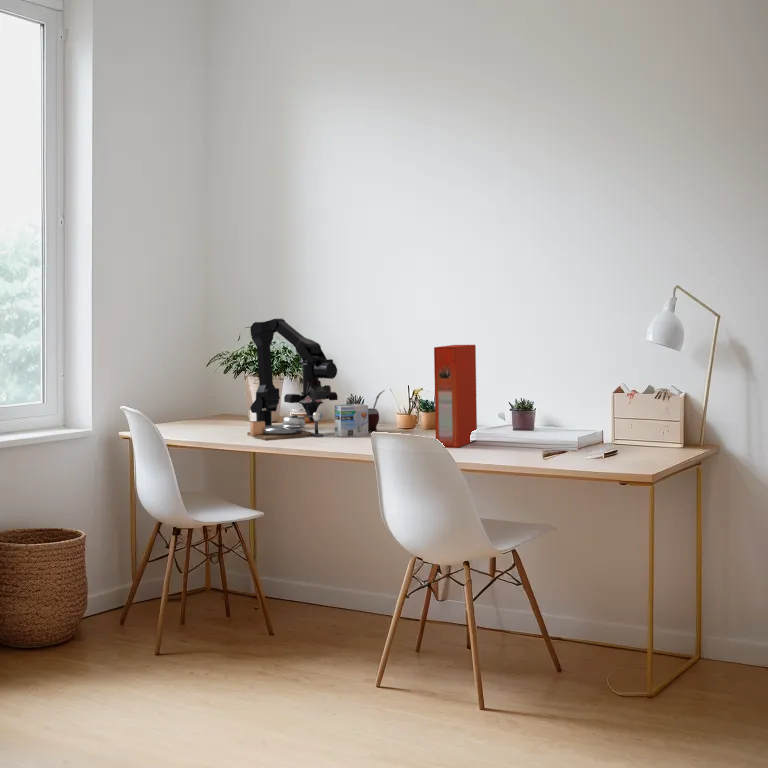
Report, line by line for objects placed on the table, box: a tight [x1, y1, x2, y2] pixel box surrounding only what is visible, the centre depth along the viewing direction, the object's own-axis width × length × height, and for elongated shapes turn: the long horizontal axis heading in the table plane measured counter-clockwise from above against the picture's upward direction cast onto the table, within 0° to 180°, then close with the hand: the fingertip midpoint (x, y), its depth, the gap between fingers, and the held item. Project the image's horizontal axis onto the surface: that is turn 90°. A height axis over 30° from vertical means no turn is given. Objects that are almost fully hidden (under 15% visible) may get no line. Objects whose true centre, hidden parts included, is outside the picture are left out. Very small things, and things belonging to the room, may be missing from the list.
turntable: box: [249, 421, 303, 435], centre depth 349 cm, size 15×18×4 cm
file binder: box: [433, 344, 478, 449], centre depth 323 cm, size 8×17×32 cm, turn 155°
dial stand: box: [303, 411, 324, 438], centre depth 347 cm, size 5×5×9 cm
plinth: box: [247, 429, 314, 441], centre depth 350 cm, size 16×19×1 cm
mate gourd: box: [368, 389, 386, 433], centre depth 359 cm, size 8×8×15 cm
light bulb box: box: [334, 403, 369, 438], centre depth 348 cm, size 11×7×11 cm, turn 112°
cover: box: [281, 414, 307, 428], centre depth 352 cm, size 8×8×4 cm
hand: (311, 421), depth 356 cm, fingers closed
